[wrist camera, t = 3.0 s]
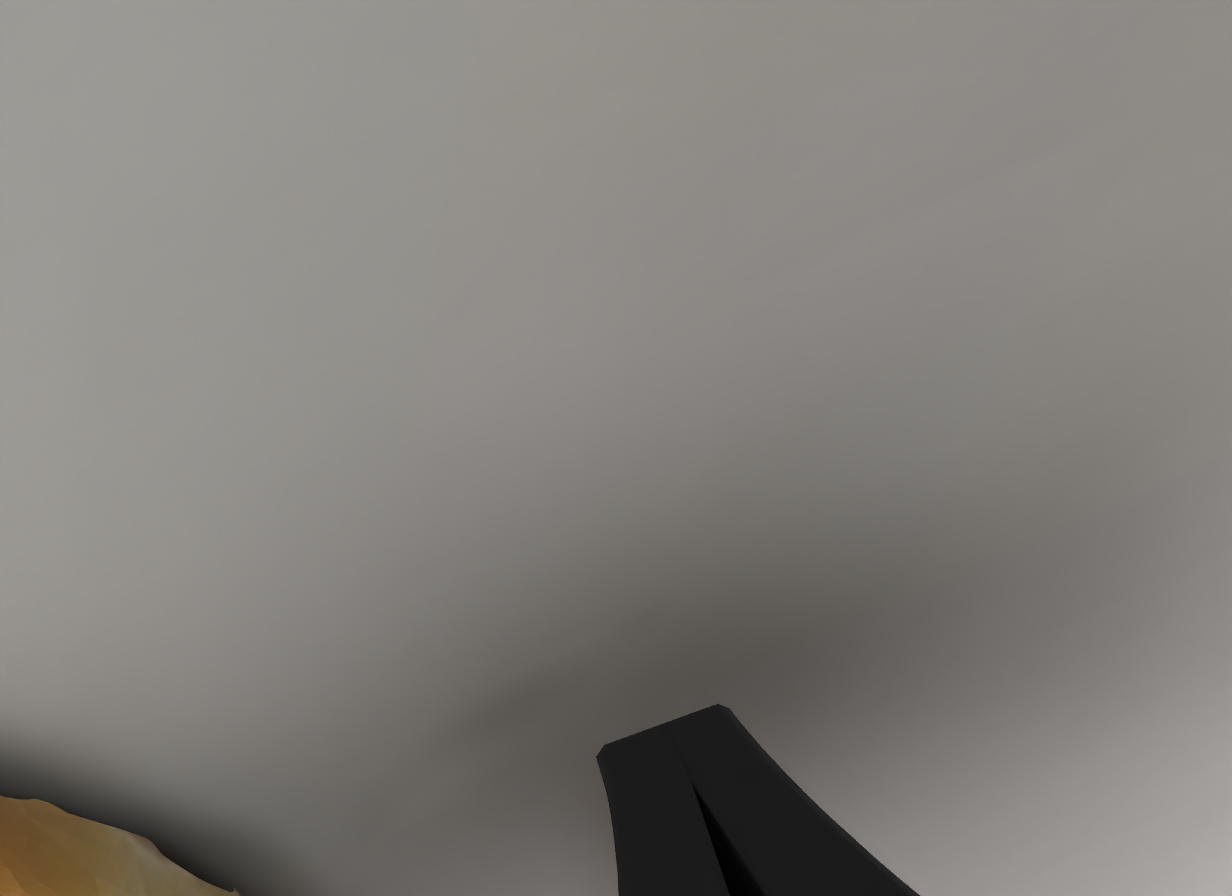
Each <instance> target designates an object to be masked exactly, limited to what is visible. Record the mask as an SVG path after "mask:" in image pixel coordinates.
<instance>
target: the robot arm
mask: <svg viewBox="0 0 1232 896" xmlns="http://www.w3.org/2000/svg"><path fill="white" fill-rule="evenodd" d="M596 758H597V762H598V765H599V768H600V772H601V775H602V778H603V782H604V785H605V789H606V793H607V797H608V802H609V807H610V813H611V819H612V826H613V834H614V843H615V852H616V861H617V872H618V891H619V896H920V895H919V894H917V893H916V892H915V891H914V890H912V889H911V888H910V887H909V886H908V885H906V884H905V883H904V882H903V881H902V880H900V879H899V878H898V877H897V876H896V875H895V874H893V873H892V872H891V871H890V870H889V869H887V868H886V867H885V866H884V865H883V864H882V863H880V862H879V861H878V860H877V859H876V858H875V857H874V856H873V855H871V854H870V853H869V852H868V851H867V850H866V849H865V848H864V847H863V846H862V845H860V844H859V843H858V842H857V841H856V840H855V839H854V838H853V837H852V836H851V835H849V834H848V833H847V832H846V831H845V830H844V829H843V828H842V827H841V826H840V825H838V824H837V823H836V822H835V821H834V820H833V819H832V818H831V817H830V816H829V815H828V814H826V813H825V812H824V811H823V810H822V809H821V808H820V807H819V806H818V805H817V804H816V803H815V802H814V801H813V800H812V799H811V798H810V797H809V796H808V795H807V794H806V793H805V792H804V791H803V790H802V789H801V788H800V787H799V786H798V785H797V784H796V783H795V782H794V781H793V780H792V779H791V778H790V777H789V776H788V775H787V774H786V773H785V772H784V771H783V770H782V769H781V768H780V767H779V765H778V764H777V763H776V762H775V761H774V760H773V759H772V758H771V757H770V756H769V755H768V754H767V753H766V751H765V750H764V749H763V748H762V747H761V746H760V745H759V744H758V742H757V741H756V740H755V739H754V738H753V737H752V736H751V734H750V733H749V732H748V731H747V730H746V728H745V727H744V726H743V725H742V724H741V722H740V721H739V720H738V719H737V717H736V716H735V715H734V714H733V712H732V711H731V710H730V708H727V707H725V706H722V705H720V704H716V705H713V706H710V707H708V708H705V709H702V710H699V711H697V712H694V713H691V714H688V715H686V716H683V717H680V718H677V719H675V720H672V721H669V722H666V723H664V724H661V725H658V726H655V727H653V728H650V729H647V730H644V731H642V732H639V733H636V734H633V735H631V736H628V737H625V738H622V739H619V740H617V741H614V742H611V743H608V744H606V745H604V746H603V748H602V749H601V750H600V752H599V753H598V755H597V756H596Z"/></svg>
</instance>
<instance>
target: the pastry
mask: <svg viewBox="0 0 1232 896" xmlns="http://www.w3.org/2000/svg"><path fill="white" fill-rule="evenodd" d="M0 896H241V895H240V894H239V893H238V891H237V890H236V888H235V887H234V891H233V892H231V893H230V892H228V891H225V890H223V889H221V888H218V887H216V886H213V885H211V884H209V883H207V882H205V881H203V880H201V879H199V878H197V877H195V876H194V875H192V874H191V873H189V872H188V871H186V870H184V869H183V868H181V867H179V866H178V865H176V864H175V863H173V862H172V861H171V860H169V859H168V858H166V857H165V856H164V855H162V854H161V853H160V851H159V850H158V849H157V848H156V846H155V845H154V844H153V843H152V842H151V841H150V840H148V839H147V838H144V837H141V836H139V835H136V834H133V833H130V832H128V831H125V830H122V829H118V828H115V827H112V826H108V825H105V824H102V823H99V822H95V821H92V820H89V819H86V818H82V817H79V816H76V815H72V814H69V813H67V812H65V811H64V810H62V809H60V808H58V807H56V806H54V805H52V804H50V803H48V802H45V801H41V800H38V799H29V800H20V799H14V798H8V797H3V796H1V795H0Z"/></svg>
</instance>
